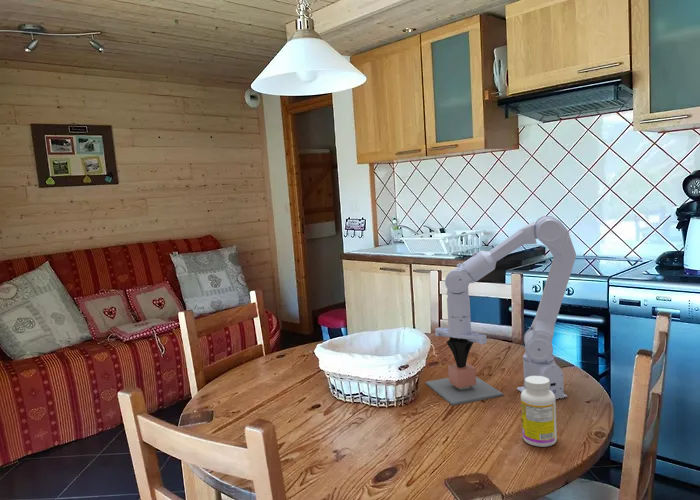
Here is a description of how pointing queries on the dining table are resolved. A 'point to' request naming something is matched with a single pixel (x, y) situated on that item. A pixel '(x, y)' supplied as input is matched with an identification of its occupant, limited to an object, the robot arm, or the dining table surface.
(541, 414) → the supplement bottle
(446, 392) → the grey square base plate
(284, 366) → the dining table surface
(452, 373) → the peach rounded cube
